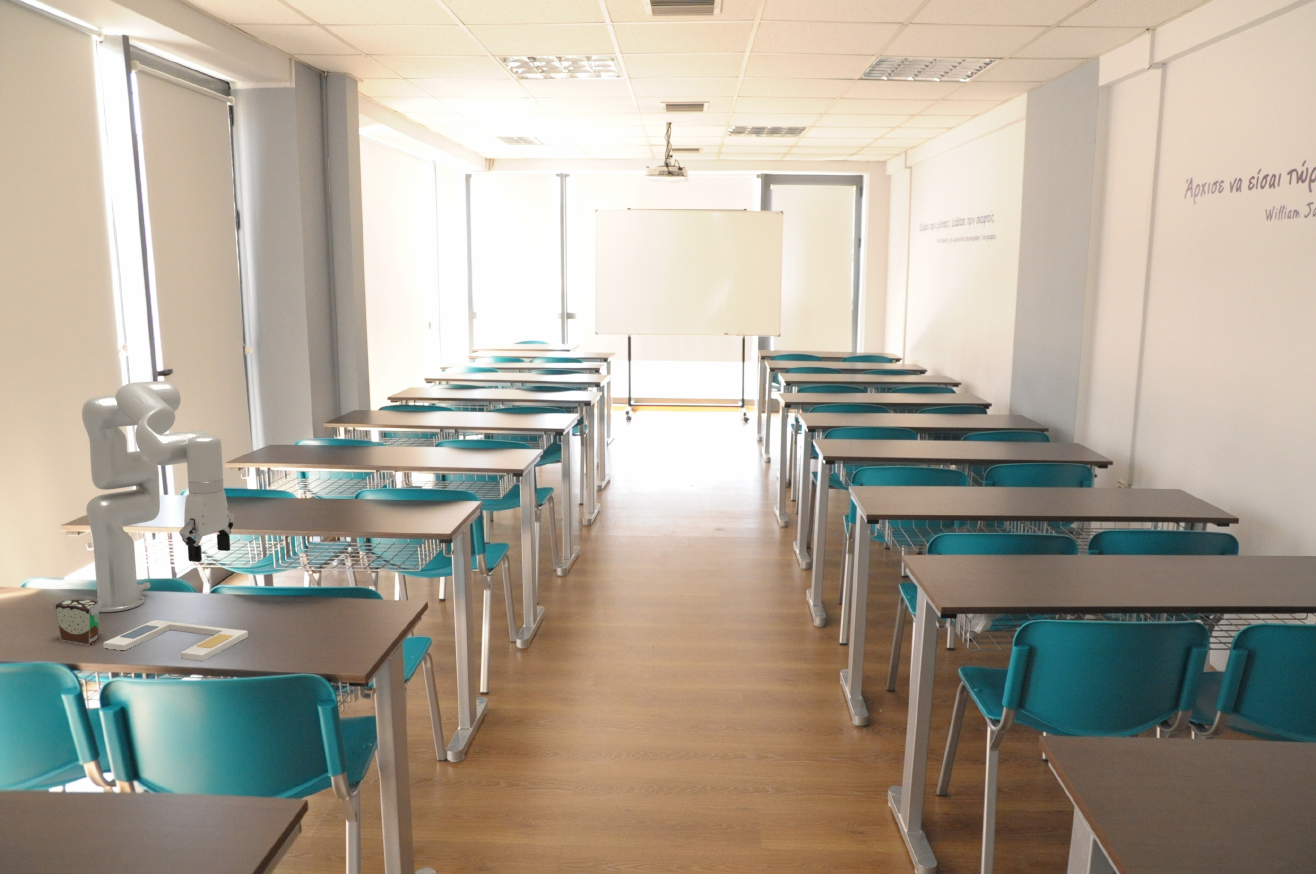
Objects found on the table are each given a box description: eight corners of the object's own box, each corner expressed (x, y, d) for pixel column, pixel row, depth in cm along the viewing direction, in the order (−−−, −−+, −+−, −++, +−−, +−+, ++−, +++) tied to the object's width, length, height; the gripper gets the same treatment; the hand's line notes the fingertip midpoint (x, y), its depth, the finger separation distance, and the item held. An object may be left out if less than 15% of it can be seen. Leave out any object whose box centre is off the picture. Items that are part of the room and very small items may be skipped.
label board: (154, 625, 229) (154, 619, 229) (248, 636, 223) (247, 630, 223) (103, 648, 214) (103, 641, 214) (202, 661, 208) (202, 654, 208)
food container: (116, 637, 221) (113, 599, 219) (94, 646, 215) (91, 607, 214) (78, 631, 224) (75, 593, 223) (56, 639, 219) (52, 601, 217)
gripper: (218, 478, 219) (221, 545, 222) (165, 493, 203) (169, 564, 205) (244, 481, 218) (247, 547, 220) (193, 495, 201) (197, 567, 204)
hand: (209, 555), depth 213 cm, fingers open, 9 cm apart
